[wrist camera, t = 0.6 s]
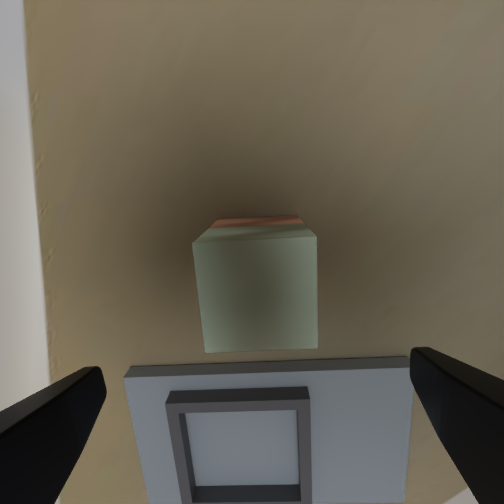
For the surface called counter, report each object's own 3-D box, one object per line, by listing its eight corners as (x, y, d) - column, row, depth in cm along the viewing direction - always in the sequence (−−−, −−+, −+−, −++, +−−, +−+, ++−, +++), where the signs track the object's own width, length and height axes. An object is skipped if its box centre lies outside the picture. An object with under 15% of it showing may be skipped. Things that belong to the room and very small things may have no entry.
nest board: (407, 356, 20) (425, 379, 18) (397, 486, 23) (411, 520, 21) (130, 366, 21) (114, 390, 19) (155, 490, 24) (143, 523, 22)
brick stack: (295, 214, 18) (316, 236, 11) (298, 288, 19) (317, 348, 13) (217, 219, 18) (191, 243, 12) (224, 292, 20) (204, 352, 13)
